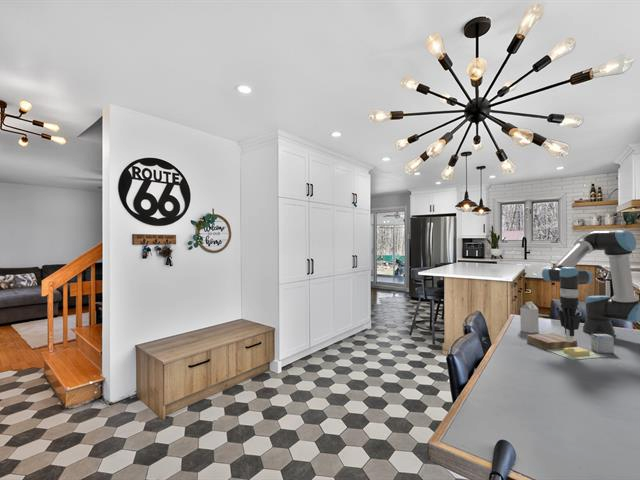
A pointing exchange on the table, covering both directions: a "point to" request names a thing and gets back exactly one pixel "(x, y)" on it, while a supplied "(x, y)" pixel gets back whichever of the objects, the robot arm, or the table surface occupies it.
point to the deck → (550, 341)
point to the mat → (571, 357)
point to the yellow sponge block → (576, 351)
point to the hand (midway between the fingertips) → (569, 341)
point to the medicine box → (602, 343)
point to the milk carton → (529, 318)
